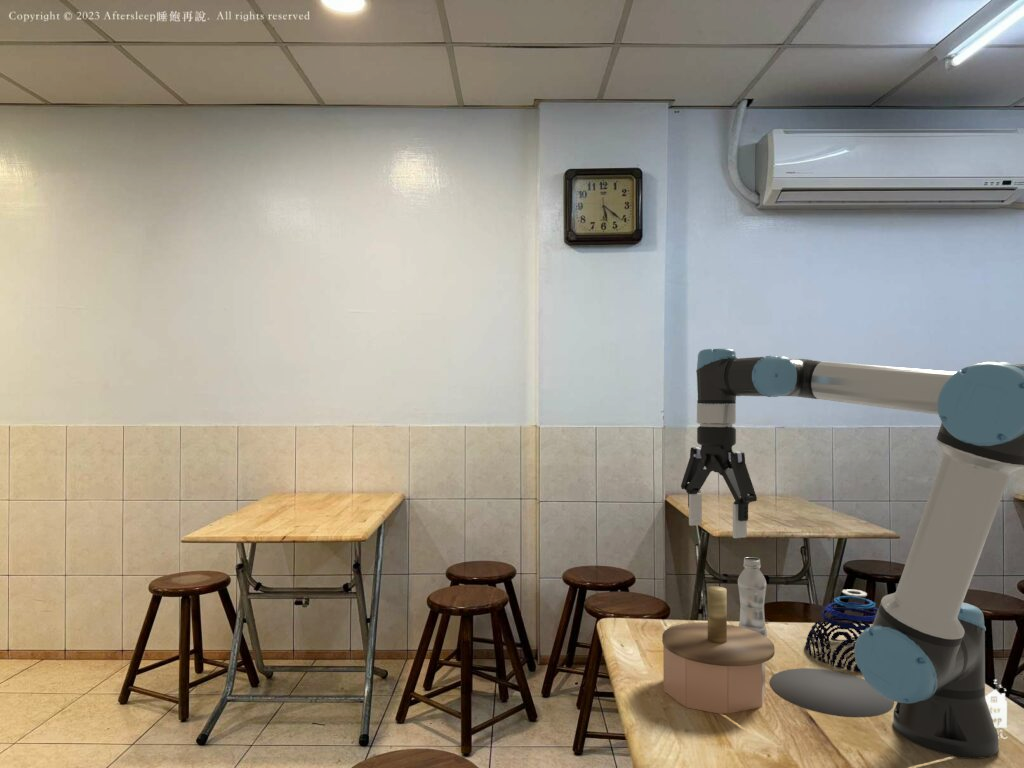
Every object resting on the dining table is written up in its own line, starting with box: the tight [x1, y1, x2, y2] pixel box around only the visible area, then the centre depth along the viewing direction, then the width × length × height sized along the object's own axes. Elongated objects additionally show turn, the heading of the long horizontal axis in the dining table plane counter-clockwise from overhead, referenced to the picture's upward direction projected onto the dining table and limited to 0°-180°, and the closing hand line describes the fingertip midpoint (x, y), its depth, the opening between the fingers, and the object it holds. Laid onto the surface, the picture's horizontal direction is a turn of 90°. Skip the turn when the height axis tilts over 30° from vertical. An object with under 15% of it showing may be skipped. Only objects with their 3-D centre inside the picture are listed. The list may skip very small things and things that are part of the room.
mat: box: [769, 667, 895, 718], centre depth 134 cm, size 22×22×1 cm
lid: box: [661, 585, 775, 666], centre depth 134 cm, size 21×21×11 cm
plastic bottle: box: [737, 556, 768, 638], centre depth 159 cm, size 6×7×20 cm
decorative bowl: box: [804, 588, 878, 673], centre depth 153 cm, size 20×20×14 cm
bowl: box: [662, 644, 766, 716], centre depth 134 cm, size 18×18×9 cm
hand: (716, 531), depth 138 cm, fingers open, 13 cm apart
